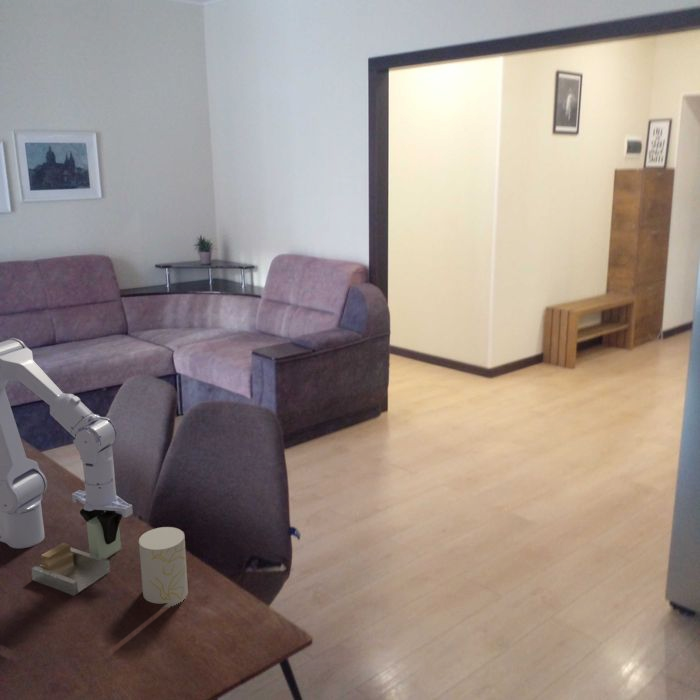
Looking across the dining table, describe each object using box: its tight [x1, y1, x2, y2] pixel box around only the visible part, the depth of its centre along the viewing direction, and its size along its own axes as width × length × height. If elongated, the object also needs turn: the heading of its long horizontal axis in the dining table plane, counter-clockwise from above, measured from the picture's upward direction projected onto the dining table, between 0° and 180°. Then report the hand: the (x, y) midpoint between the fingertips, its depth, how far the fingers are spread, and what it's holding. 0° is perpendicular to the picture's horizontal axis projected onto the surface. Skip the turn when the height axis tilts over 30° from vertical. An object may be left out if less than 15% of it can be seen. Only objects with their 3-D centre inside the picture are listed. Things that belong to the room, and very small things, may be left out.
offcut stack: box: [38, 542, 74, 574], centre depth 138 cm, size 2×6×4 cm, turn 153°
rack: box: [30, 546, 111, 596], centre depth 137 cm, size 11×9×4 cm
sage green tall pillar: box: [85, 513, 122, 559], centre depth 143 cm, size 2×6×9 cm, turn 153°
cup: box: [138, 526, 189, 609], centre depth 131 cm, size 8×8×12 cm
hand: (105, 540), depth 144 cm, fingers closed on sage green tall pillar, 2 cm apart
